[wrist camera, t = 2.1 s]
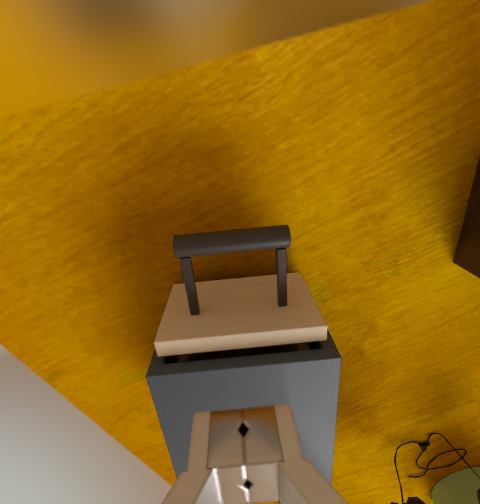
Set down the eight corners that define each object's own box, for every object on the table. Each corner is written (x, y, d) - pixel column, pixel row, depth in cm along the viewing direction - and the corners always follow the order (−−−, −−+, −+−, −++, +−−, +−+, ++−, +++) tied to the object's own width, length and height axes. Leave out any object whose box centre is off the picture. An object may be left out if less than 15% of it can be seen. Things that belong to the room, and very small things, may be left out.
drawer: (159, 217, 21) (130, 256, 15) (300, 204, 21) (332, 237, 15) (197, 398, 29) (189, 474, 22) (300, 388, 29) (320, 461, 22)
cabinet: (171, 295, 25) (145, 376, 17) (304, 282, 25) (341, 357, 17) (196, 409, 31) (186, 509, 23) (303, 399, 31) (330, 495, 23)
